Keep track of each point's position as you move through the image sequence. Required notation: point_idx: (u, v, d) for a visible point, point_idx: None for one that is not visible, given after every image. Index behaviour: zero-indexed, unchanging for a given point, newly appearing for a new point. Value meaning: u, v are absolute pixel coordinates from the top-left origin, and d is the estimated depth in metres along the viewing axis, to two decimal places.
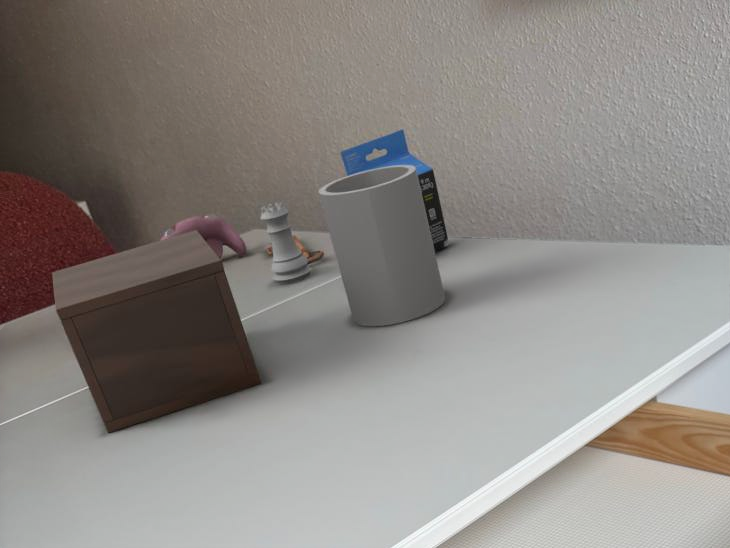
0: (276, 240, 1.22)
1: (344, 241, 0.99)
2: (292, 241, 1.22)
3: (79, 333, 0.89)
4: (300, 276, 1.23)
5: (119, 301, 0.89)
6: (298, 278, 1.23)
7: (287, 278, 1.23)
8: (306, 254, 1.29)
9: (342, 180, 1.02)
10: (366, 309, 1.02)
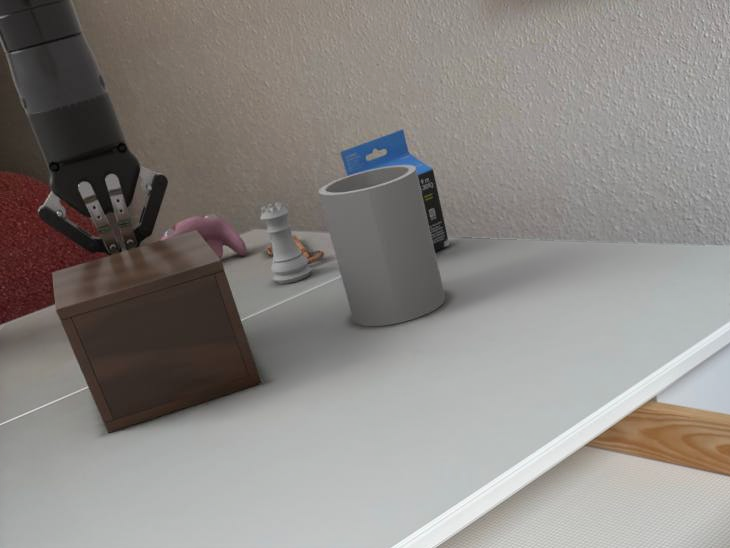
0: (276, 240, 1.22)
1: (344, 241, 0.99)
2: (292, 241, 1.22)
3: (79, 333, 0.89)
4: (300, 276, 1.23)
5: (119, 301, 0.89)
6: (298, 278, 1.23)
7: (287, 278, 1.23)
8: (306, 254, 1.29)
9: (342, 180, 1.02)
10: (366, 309, 1.02)
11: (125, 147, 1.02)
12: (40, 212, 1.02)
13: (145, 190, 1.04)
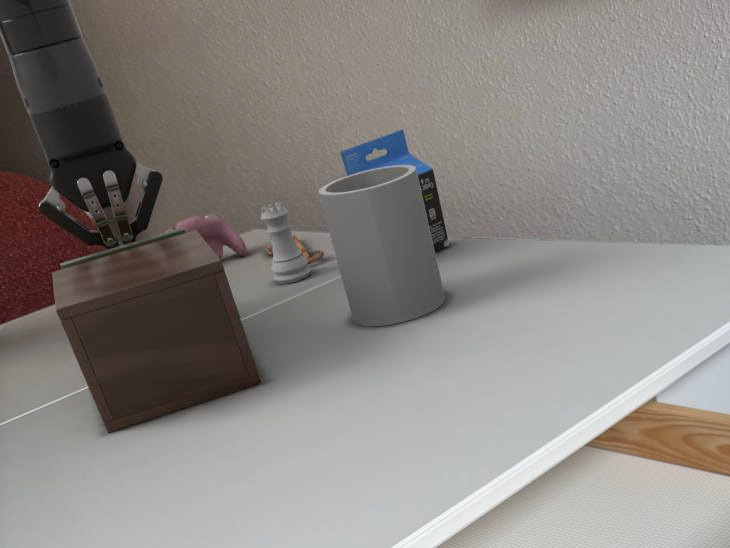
0: (276, 240, 1.22)
1: (344, 241, 0.99)
2: (292, 241, 1.22)
3: (79, 333, 0.89)
4: (300, 276, 1.23)
5: (119, 301, 0.89)
6: (298, 278, 1.23)
7: (287, 278, 1.23)
8: (306, 254, 1.29)
9: (342, 180, 1.02)
10: (366, 309, 1.02)
11: (122, 145, 1.07)
12: (41, 206, 1.07)
13: (141, 186, 1.10)
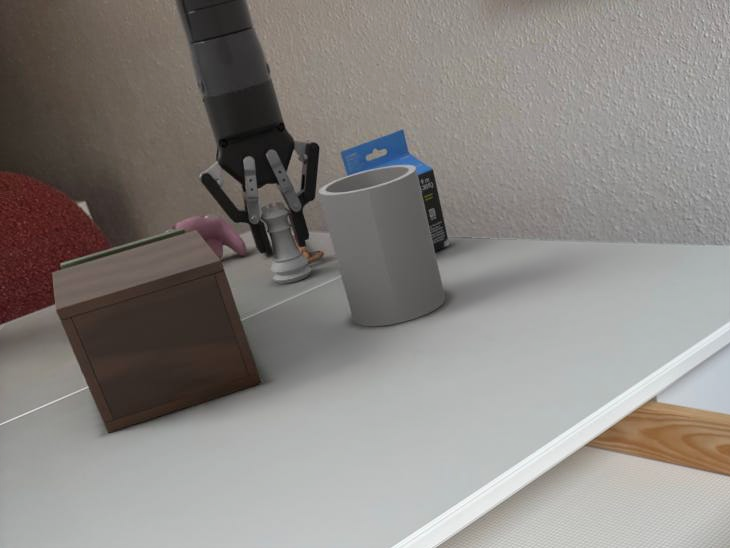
0: (276, 240, 1.22)
1: (344, 241, 0.99)
2: (292, 241, 1.22)
3: (79, 333, 0.89)
4: (300, 276, 1.23)
5: (119, 301, 0.89)
6: (298, 278, 1.23)
7: (287, 278, 1.23)
8: (306, 254, 1.29)
9: (342, 180, 1.02)
10: (366, 309, 1.02)
11: (283, 126, 1.16)
12: (203, 176, 1.16)
13: (302, 160, 1.19)
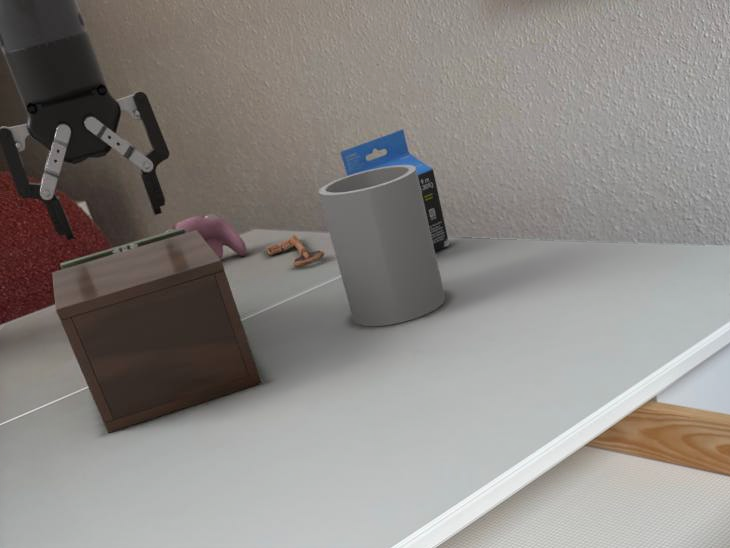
0: None
1: (344, 241, 0.99)
2: None
3: (79, 333, 0.89)
4: None
5: (119, 301, 0.89)
6: None
7: None
8: (306, 254, 1.29)
9: (342, 180, 1.02)
10: (366, 309, 1.02)
11: (105, 89, 0.99)
12: (2, 130, 0.98)
13: (136, 118, 1.01)
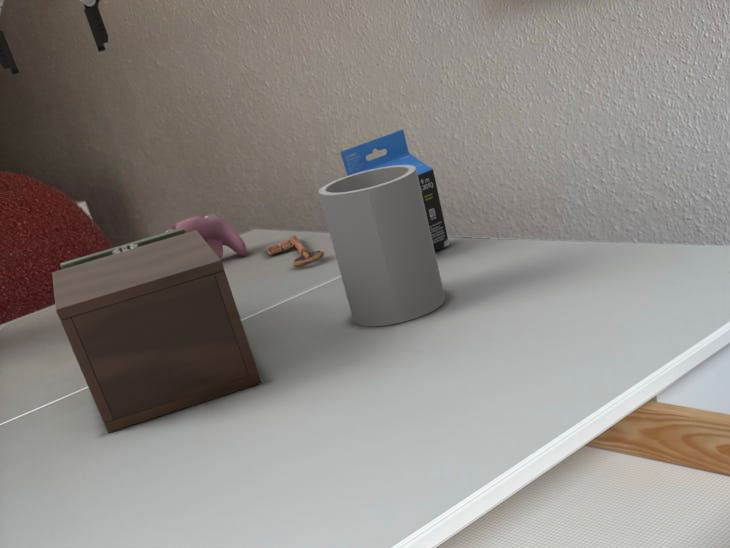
0: None
1: (344, 241, 0.99)
2: None
3: (79, 333, 0.89)
4: None
5: (119, 301, 0.89)
6: None
7: None
8: (306, 254, 1.29)
9: (342, 180, 1.02)
10: (366, 309, 1.02)
11: None
12: None
13: None
